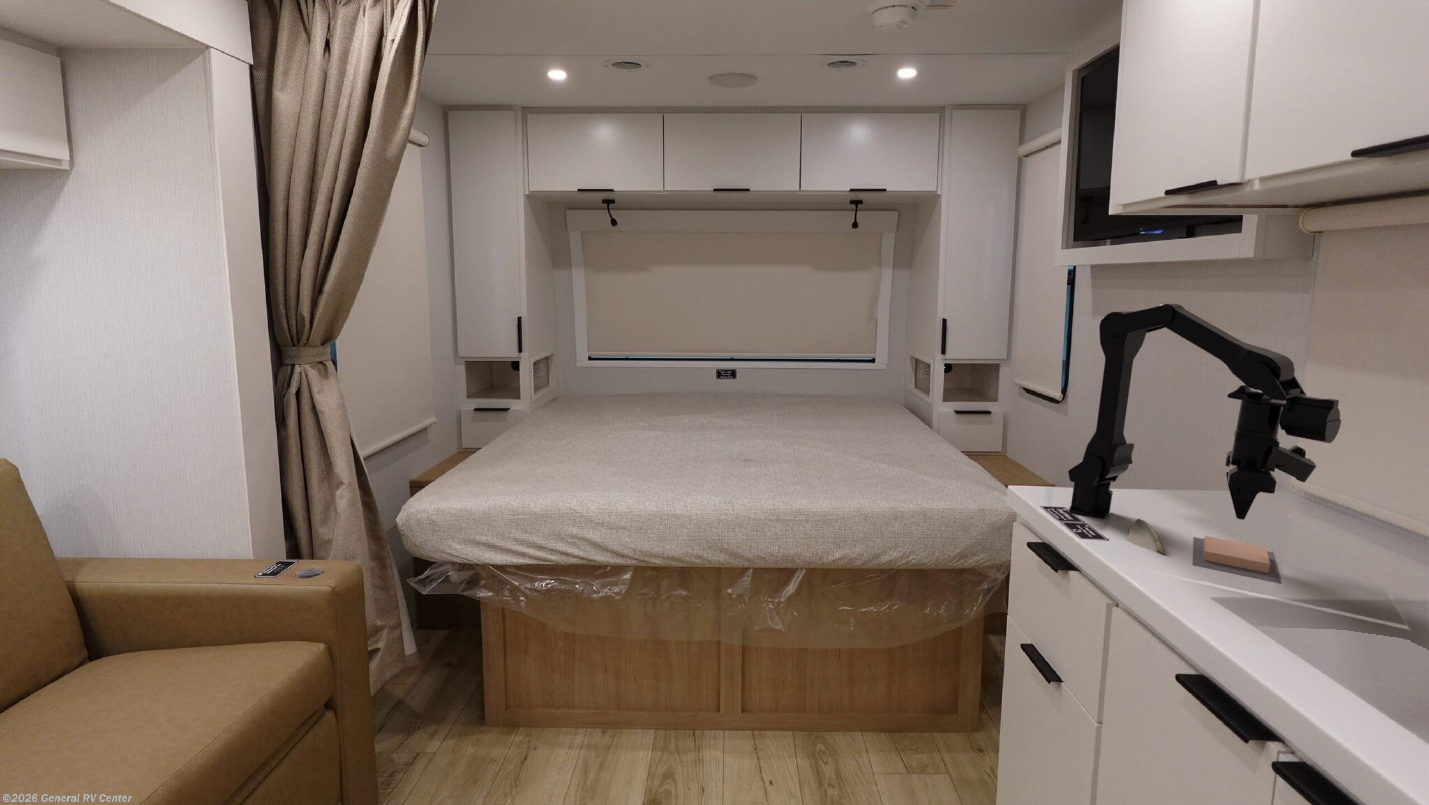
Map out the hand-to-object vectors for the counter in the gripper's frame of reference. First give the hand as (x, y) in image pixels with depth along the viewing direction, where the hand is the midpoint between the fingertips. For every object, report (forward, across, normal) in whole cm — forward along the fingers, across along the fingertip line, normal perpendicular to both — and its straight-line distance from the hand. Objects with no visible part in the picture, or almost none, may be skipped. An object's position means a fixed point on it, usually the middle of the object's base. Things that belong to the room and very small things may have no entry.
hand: (1240, 518), depth 133 cm
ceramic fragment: (+8, -2, +13) cm, 15 cm away
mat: (+7, -2, 0) cm, 7 cm away
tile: (+6, +2, 0) cm, 6 cm away
